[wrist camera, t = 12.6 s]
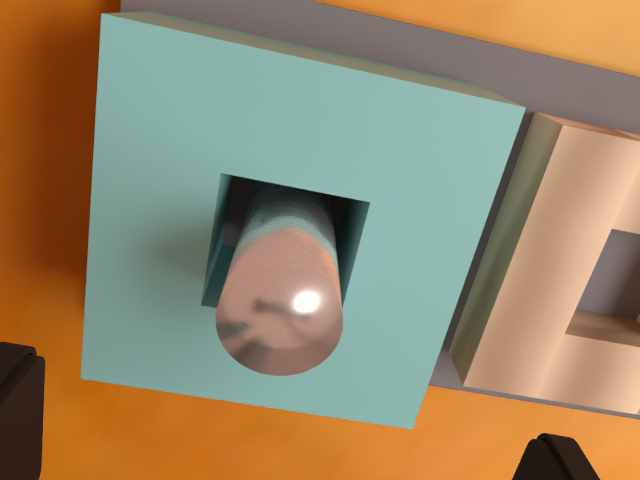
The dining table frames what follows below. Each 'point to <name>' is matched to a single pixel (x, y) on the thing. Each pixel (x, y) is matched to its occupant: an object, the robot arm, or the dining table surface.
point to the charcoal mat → (464, 65)
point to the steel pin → (283, 284)
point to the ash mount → (555, 273)
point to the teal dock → (290, 170)
